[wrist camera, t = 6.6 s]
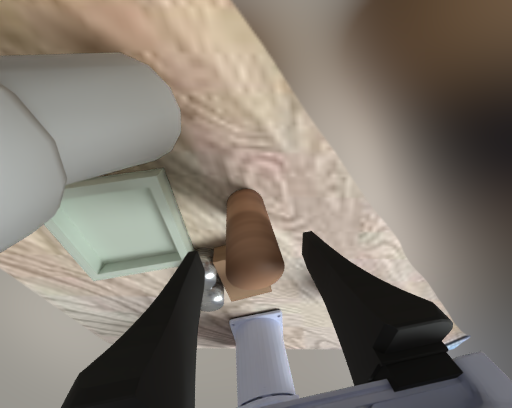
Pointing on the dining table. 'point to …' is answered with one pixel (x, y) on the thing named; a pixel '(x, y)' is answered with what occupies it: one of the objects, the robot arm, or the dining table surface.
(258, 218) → the dowel
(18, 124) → the salt shaker
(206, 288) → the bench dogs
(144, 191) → the tray
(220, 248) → the wooden block
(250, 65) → the dining table surface
